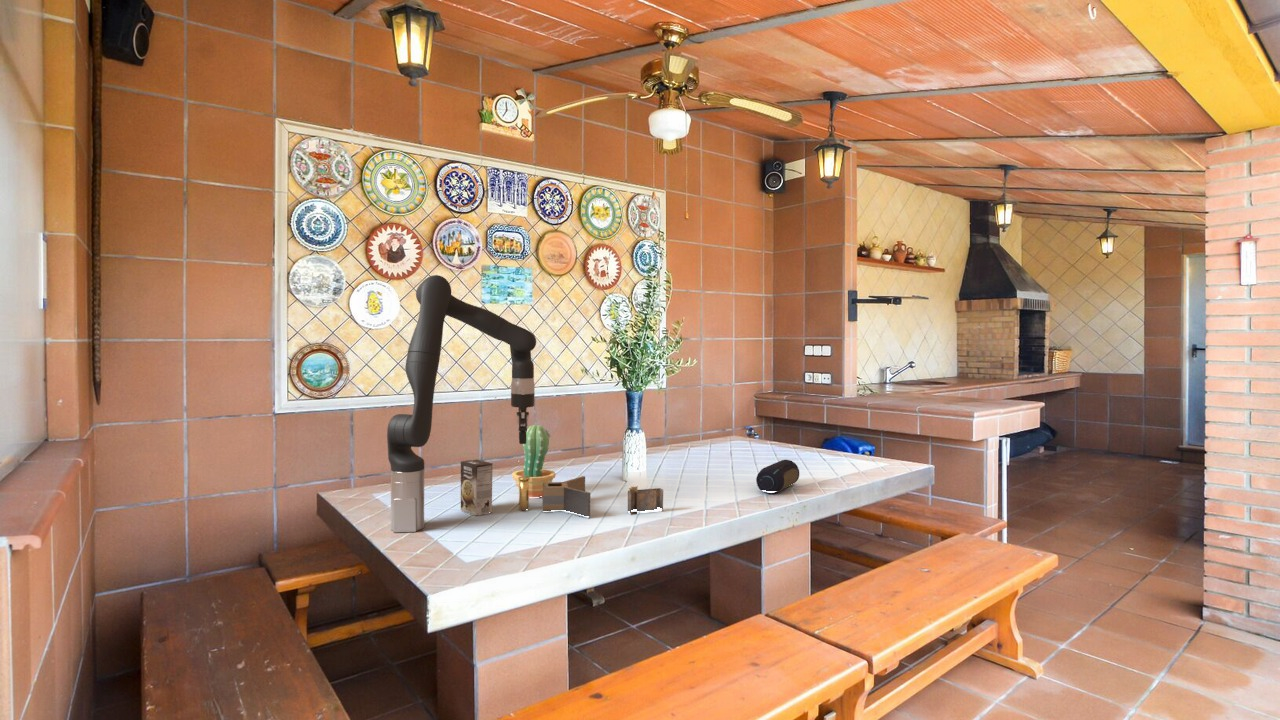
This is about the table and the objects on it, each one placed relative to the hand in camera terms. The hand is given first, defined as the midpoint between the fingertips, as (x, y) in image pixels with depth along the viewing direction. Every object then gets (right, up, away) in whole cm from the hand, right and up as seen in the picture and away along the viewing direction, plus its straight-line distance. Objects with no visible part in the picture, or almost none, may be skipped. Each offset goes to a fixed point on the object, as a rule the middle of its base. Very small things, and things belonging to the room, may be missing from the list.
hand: (522, 441), depth 214 cm
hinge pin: (0, -22, 0) cm, 22 cm away
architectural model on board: (+40, -23, -1) cm, 46 cm away
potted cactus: (+1, -22, +19) cm, 29 cm away
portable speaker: (+91, -23, +34) cm, 99 cm away
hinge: (+14, -22, +2) cm, 26 cm away
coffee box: (-14, -22, -3) cm, 27 cm away
